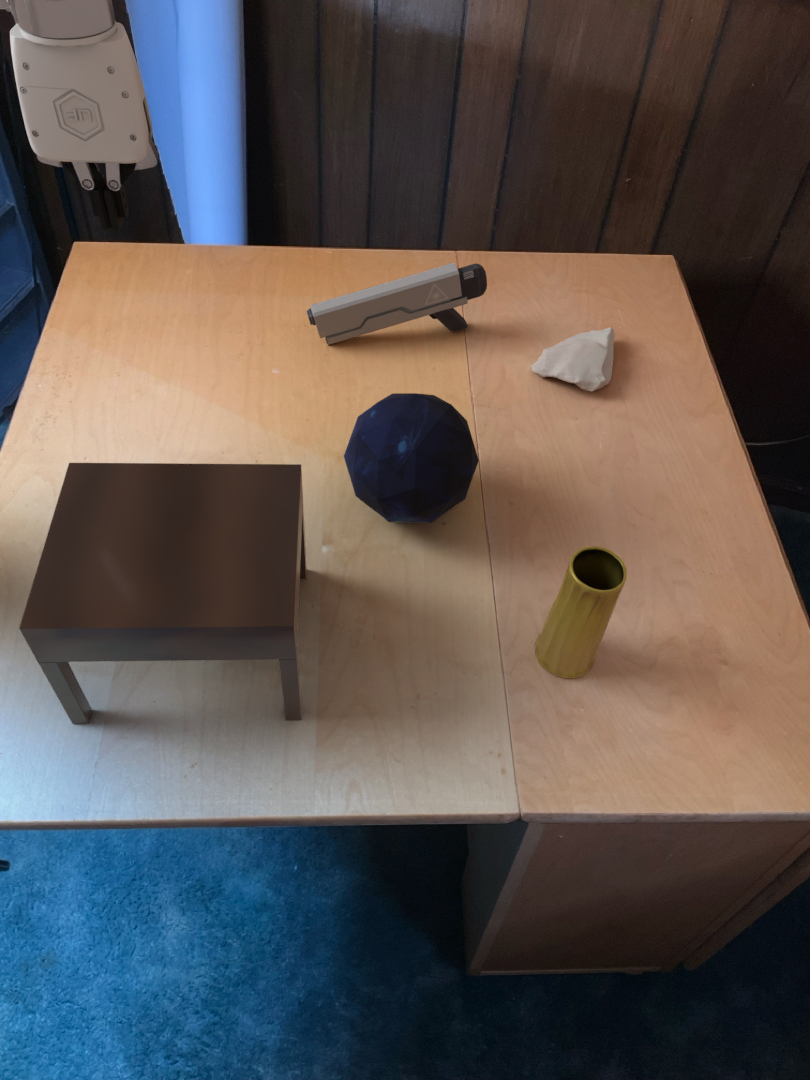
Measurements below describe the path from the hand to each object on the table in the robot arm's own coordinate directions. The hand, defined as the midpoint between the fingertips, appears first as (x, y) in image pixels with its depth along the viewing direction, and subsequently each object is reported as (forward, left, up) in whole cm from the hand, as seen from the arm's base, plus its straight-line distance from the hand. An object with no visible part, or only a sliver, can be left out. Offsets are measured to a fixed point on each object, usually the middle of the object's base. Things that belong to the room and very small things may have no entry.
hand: (113, 222), depth 79 cm
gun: (+30, +20, -27) cm, 45 cm away
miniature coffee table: (+8, -31, -27) cm, 42 cm away
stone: (+56, +14, -27) cm, 64 cm away
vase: (+45, -33, -27) cm, 62 cm away
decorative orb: (+30, -12, -27) cm, 42 cm away
